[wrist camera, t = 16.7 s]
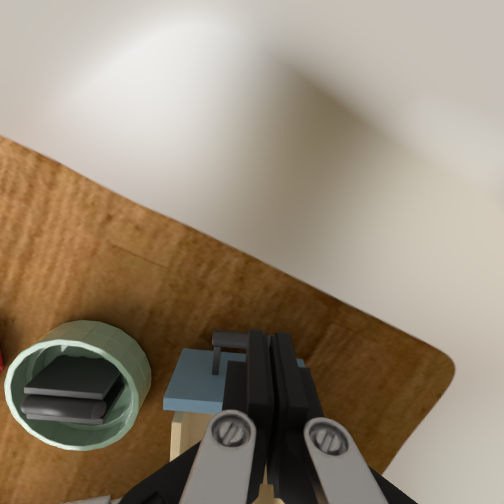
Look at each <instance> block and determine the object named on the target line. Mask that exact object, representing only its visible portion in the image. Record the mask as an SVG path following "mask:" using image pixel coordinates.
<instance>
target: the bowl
mask: <svg viewBox="0 0 504 504" xmlns="http://www.w3.org/2000/svg"><path fill="white" fill-rule="evenodd" d="M61 355H68V356H69V357H81V356H84V357H86V358H91V359H98V358H104V360H109V361H110V362H111V363H113V364H114V365H115V366H116V367H117V368H118V370H119V371H120V372H121V373H122V375H123V384H125V389H124V391H123V393H122V394H121V396H120V398H119V399H118V401H117V403H116V404H115V406H114V408H113V409H112V411H111V413H110V414H109V416H108V418H107V419H106V421H105V423H104V424H103V425H99V424H87V423H74V422H61V421H49V420H36V419H27V415H26V414H24V413H23V412H22V411H21V409H20V405H21V402H22V400H23V399H24V398H25V397H27V396H28V395H31V394H27V393H24V386H25V385H26V384H28V383H29V382H30V381H31V380H32V379H33V378H34V377H35V376H36V375H37V374H38V373H40V372H41V371H42V370H43V369H44V368H45V367H46V366H47V365H48V364H49V363H50V362H52V361H53V360H54V359H55V358H56V357H57V356H61ZM114 383H115V382H114ZM150 387H151V368H150V365H149V362H148V359H147V357H146V354H145V353H144V351H143V350H142V349H141V347H140V346H139V345H138V343H137V342H136V341H135V340H134V339H133V338H131V337H130V336H129V335H127V334H126V333H125V332H123V331H122V330H121V329H119V328H116V327H114V326H111V325H108V324H106V323H103V322H99V321H88V320H77V321H72V322H67V323H63V324H61V325H59V326H57V327H55V328H54V329H52V330H50V331H48V332H47V333H46V334H44V335H43V336H42V337H40V338H39V339H38V340H36V341H35V342H34V343H32V344H31V345H30V346H28V347H27V348H26V349H24V350H23V351H22V352H21V353H20V354H19V355H18V356H17V357H16V359H15V360H14V361H13V362H12V363H11V365H10V366H9V368H8V372H7V375H6V379H5V382H4V388H5V396H6V402H7V404H8V406H9V408H10V410H11V412H12V414H13V416H14V418H15V419H16V420H17V421H18V422H19V423H20V424H21V425H22V426H23V428H24V429H25V430H26V431H27V432H29V433H30V434H32V435H33V436H35V437H36V438H38V439H40V440H41V441H43V442H45V443H47V444H50V445H53V446H56V447H59V448H62V449H66V450H79V451H88V450H93V449H99V448H103V447H106V446H108V445H110V444H112V443H114V442H116V441H118V440H120V439H121V438H122V437H123V436H124V435H125V434H126V433H127V432H128V431H129V430H130V429H131V428H132V426H133V424H134V422H135V420H136V418H137V416H138V414H139V411H140V409H141V407H142V405H143V403H144V401H145V399H146V396H147V394H148V392H149V389H150Z"/></svg>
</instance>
